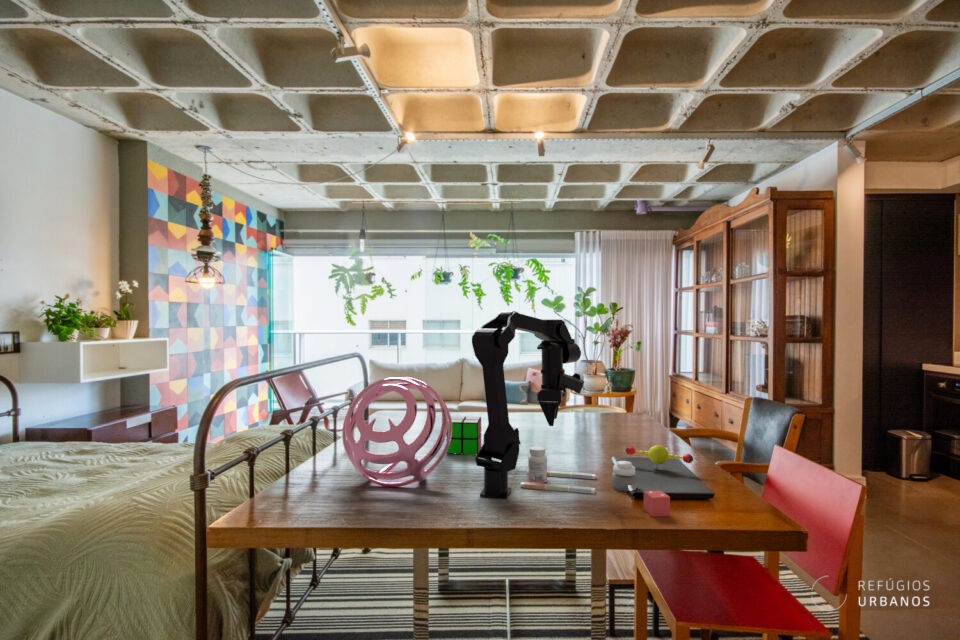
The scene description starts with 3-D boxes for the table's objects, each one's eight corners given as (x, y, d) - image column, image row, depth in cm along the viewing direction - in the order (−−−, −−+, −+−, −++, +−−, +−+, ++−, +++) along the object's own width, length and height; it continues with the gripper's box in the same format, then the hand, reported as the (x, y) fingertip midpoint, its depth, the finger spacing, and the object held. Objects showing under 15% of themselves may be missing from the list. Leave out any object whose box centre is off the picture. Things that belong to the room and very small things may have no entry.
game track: (638, 497, 114) (638, 484, 114) (520, 487, 121) (520, 475, 121) (635, 480, 126) (635, 468, 126) (527, 472, 133) (527, 461, 133)
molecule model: (695, 472, 134) (695, 447, 134) (691, 477, 129) (691, 451, 129) (628, 461, 143) (628, 438, 143) (623, 466, 138) (623, 442, 139)
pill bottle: (534, 476, 129) (534, 444, 129) (550, 480, 126) (550, 447, 126) (524, 481, 126) (524, 448, 126) (540, 485, 123) (540, 451, 123)
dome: (636, 476, 118) (636, 466, 118) (613, 474, 119) (613, 465, 119) (634, 470, 123) (634, 460, 123) (613, 468, 124) (613, 459, 124)
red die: (670, 515, 103) (670, 496, 103) (652, 516, 103) (652, 497, 103) (661, 508, 107) (661, 490, 107) (643, 509, 107) (643, 490, 107)
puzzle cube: (481, 447, 160) (481, 416, 160) (478, 455, 150) (478, 422, 150) (451, 446, 161) (451, 416, 161) (446, 454, 151) (446, 422, 151)
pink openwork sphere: (390, 391, 149) (362, 345, 127) (474, 419, 141) (460, 375, 118) (344, 479, 135) (303, 444, 113) (434, 515, 127) (410, 485, 105)
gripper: (580, 369, 122) (581, 431, 123) (583, 362, 141) (584, 416, 141) (536, 369, 125) (537, 429, 125) (544, 361, 143) (545, 414, 143)
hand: (553, 422), depth 134 cm, fingers open, 9 cm apart
